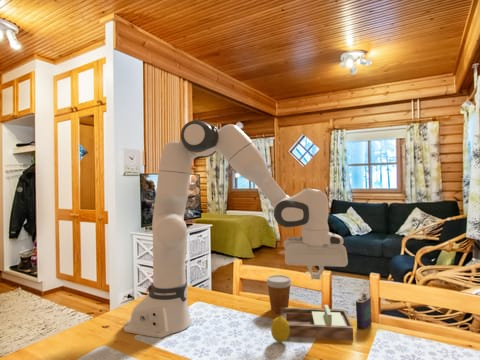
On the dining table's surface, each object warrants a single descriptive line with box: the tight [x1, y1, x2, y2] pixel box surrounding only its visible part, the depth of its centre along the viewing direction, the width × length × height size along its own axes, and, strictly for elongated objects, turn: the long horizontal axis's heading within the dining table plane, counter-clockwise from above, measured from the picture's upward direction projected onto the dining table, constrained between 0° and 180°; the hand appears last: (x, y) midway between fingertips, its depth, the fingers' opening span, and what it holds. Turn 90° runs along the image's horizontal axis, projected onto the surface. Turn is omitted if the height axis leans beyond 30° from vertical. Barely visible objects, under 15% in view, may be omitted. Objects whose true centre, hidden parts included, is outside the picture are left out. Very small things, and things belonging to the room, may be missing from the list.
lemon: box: [270, 315, 290, 344], centre depth 91 cm, size 6×6×8 cm
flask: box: [355, 292, 372, 331], centre depth 102 cm, size 9×3×11 cm, turn 138°
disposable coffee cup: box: [265, 274, 292, 315], centre depth 115 cm, size 10×10×12 cm
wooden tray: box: [280, 307, 354, 341], centre depth 101 cm, size 22×14×4 cm, turn 82°
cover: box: [312, 304, 346, 326], centre depth 100 cm, size 10×10×4 cm
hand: (315, 278), depth 101 cm, fingers closed
